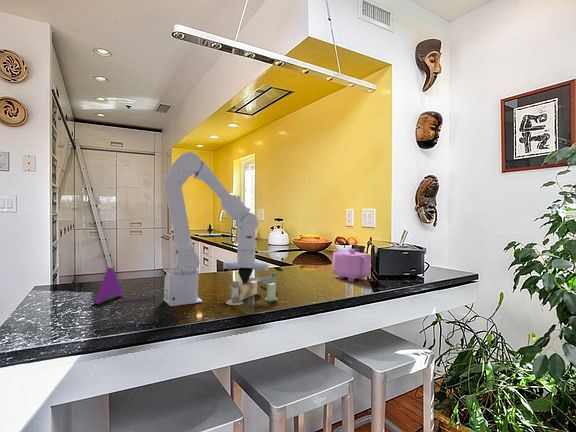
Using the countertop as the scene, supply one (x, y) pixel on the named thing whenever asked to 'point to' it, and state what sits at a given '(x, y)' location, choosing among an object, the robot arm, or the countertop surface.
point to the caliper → (265, 279)
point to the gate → (248, 289)
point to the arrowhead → (109, 287)
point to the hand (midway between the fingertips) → (245, 291)
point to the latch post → (271, 292)
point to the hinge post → (234, 294)
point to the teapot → (351, 264)
